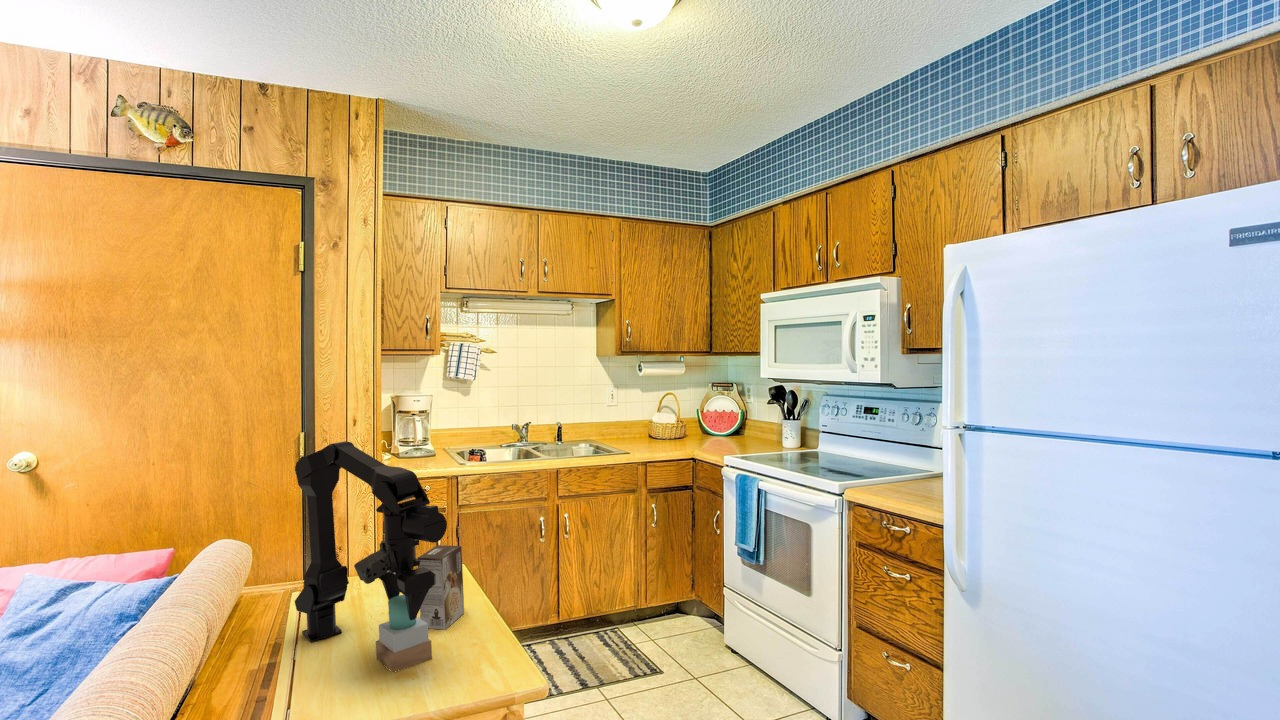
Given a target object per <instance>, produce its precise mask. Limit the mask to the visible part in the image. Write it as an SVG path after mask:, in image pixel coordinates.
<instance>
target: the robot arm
mask: <svg viewBox="0 0 1280 720" xmlns="http://www.w3.org/2000/svg"><path fill="white" fill-rule="evenodd" d="M341 469H344V470H345V471H347V472H348V473H349V474H351V475H353V476H354V477H356V478H357V479H359V480H361V481H362V482H364V483H366V484H367V485H368V486H370V488H371V493H372V495H373V496H374V497H375V498H376V499H378V500H379V502H381V504H379V506H378V507H377V508H376V509H375V510H376V512H377V513H380V514H383V529H384V540H381V541H380V543H379V550H377V551H375V552H372V553H371V554H369V555H368V556H366V557H364V558H362V559H361V560H359V561H357V562H356V563H355V564H354V565H353V567H354V570H355V571H356V573H357V575H358V578H359V580H360V581H362V582H364V584H367V585H369V584H371V583H374V582H375V581H376V580H377V579H378V580H380V581H381V582H382V585H383V588H384V591H385V594H386V597H387V600H388V601H389V600H390V599H391V598H393V597H396V596H400V595H405V599H406V605H407V610H408V615H409V619H410V620H414V619H416V617H418V614H419V613H420V608H421V605H422V603H423V601H424V599H425V597H426V595H427V593H428V591H429V589H430V588H432V586H434V585H435V584H436V574H434V573H433V572H432V571H430V570H428V569H426V568H425V567H421V568H418V566H419V565H420V560H418V559H417V558H418V557H417V553H416V551H417V550H416V547H417V546H419V545H420V541H421V542H426V543H427V542H428V543H433V544H434V543H437V542H439V541H441V540H442V539H443V537H444V536H445V534H446V531H447V528H448V521H447V520H446V517H445V515H444V514H443V513H441V512H440V511H439V506H438V505H430V504H431V502H430V499H429V497H428V494H427V493H426V491H425V490H424V488H423V486H422V484H421V483H420V480H419V479H418V476H417V475H416V473H415V472H414V471H412V470H410V469H407V468H403V467H399V466H391V465H387V464H385V463H383V462H382V461H380V460H378V459H376V458H375V457H373V456H372V455H370V454H368V453H366V452H364V451H363V450H361V449H359V448H357V446H355V445H354V444H353V443H352V442H351V441H347V440H346V441H340V442H333V443H329V444H328V445H326V446H324V447H323V448H322V449H319V450H318V451H314V452H313V453H311V454H309V455H302V456H300V458H299V459H298V460H297V461H296V462H295V467H294V472H295V476H296V482H297V486H298V487H299V488H300V489H301V490H302V491H303V493H304V494H305V495H306V499H307V501H306V502H307V513H308V514H307V515H308V530H309V531H308V532H309V547H310V561H311V562H310V564H309V566H308V568H307V570H306V571H305V573H304V576H303V588H302V590H301V592H299V594H298V595H297V597H296V598H295V600H294V605H295V609H296V611H297V612H300V613H304V614H306V627H307V629H304V630H303V629H302V631H301V633H302V635H303V636H304V637H305V638H306V639H307V641H309V642H316V641H319V640H323V639H326V638H329V637H333V636H337V635H339V634H342V632H343V631H342V629H341V628H340V627H339V626H338V625H337V620H336V619H337V618H336V617H337V616H336V604H338V603H340V602H344V601H345V599H346V593H347V590H348V585H349V584H350V582H349V577H348V570H349V569H348V568H347V566H346V565H342V563H341V562H340V561H339V560H338V558H337V546H336V534H335V533H336V531H335V515H334V502H333V501H334V500H333V493H334V491H335V488H336V487H337V485H338V483H339V481H340V471H341ZM415 567H417V568H415Z"/></svg>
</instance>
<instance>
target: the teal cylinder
mask: <svg viewBox="0 0 1280 720" xmlns="http://www.w3.org/2000/svg"><path fill="white" fill-rule="evenodd" d="M387 605H388V619H389V621H388V622H389V624H390V628H391V629H395V630H399V629H405V628H409V627H411V626H413V625H415V624H416V619H414V620H410V619H409V615H408V610H407V605H406V599H405V595H403V594H399V596H396V597H393V598H391V599H390V600H388V601H387Z"/></svg>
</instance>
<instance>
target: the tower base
mask: <svg viewBox="0 0 1280 720" xmlns="http://www.w3.org/2000/svg"><path fill="white" fill-rule="evenodd" d="M428 640H429V641H427V642H424V643H422V644H419V645H416V646H413V647H410V648H407V649H405V650H402V651H399V652H396V653H394V652H392V651H391V650H390V649H388V648H387V647H386V646H384V645H383V644H382V643H380V642H379V639H378V640H375V654H376V655H375V656H376V660H377V661H378V660H379V661H380V662H381V663H382V664H381V663H380V662H379V661H378V662H379V663H380V664H381V665H382V666H384V665H385V666H386V667H387V668H388V669H390V670H391V671H392V672H395V671H398V670H400V671H402V670H401V669H403V670H405V669H404V668H406V669H408V668H407V667H409V668H411V667H414V666H416V665H417V666H418V665H420V664H422V663H425V662H427V661H431V660H433V654H432V653H433V652H432V640H431V639H429V638H428ZM385 666H384V667H385ZM386 667H385V668H386ZM387 668H386V669H387ZM388 669H387V670H388ZM391 671H390V672H391ZM392 672H391V673H392ZM398 672H399V671H398ZM395 673H396V672H395Z"/></svg>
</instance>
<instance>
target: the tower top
mask: <svg viewBox="0 0 1280 720" xmlns="http://www.w3.org/2000/svg"><path fill="white" fill-rule="evenodd" d="M378 637H379V638H378V640H379V642H380V643H382V644H383V645H384V646H386V647H387V648H388V649H390V650H391V651H392V652H394V653H396V652H399V651H402V650H405V649H407V648H410V647H413V646H416V645H419V644H422V643H424V642H427V641H429V640H430V639H429V629H428V624H427V623H426V622H424V621H423V620H421V619H420V617H418V616H417V617H416V624H415V625H413V626H411V627H409V628H405V629H399V630H395V629H391V628H390V624H389V621H386V622H382V623H380V624H378ZM428 639H429V640H428Z"/></svg>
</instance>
